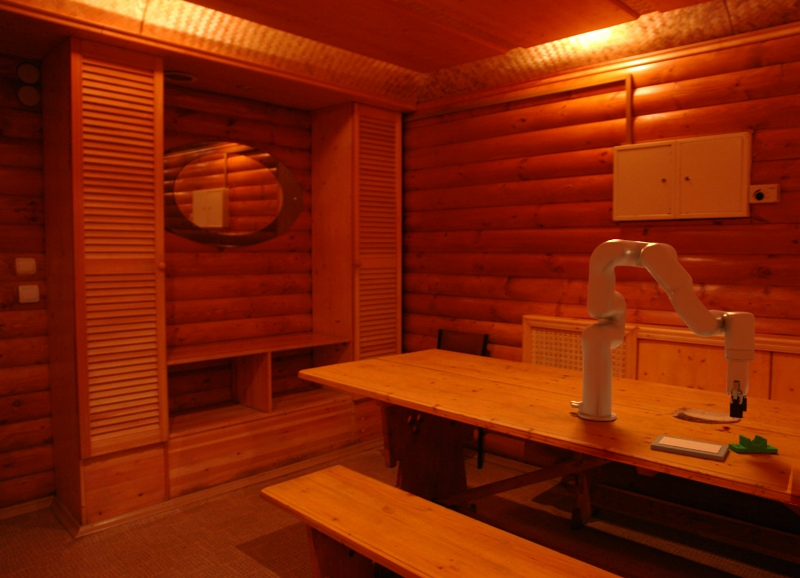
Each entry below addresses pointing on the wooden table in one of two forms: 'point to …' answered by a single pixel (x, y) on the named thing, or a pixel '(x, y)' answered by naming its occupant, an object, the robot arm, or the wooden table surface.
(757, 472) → the wooden table surface
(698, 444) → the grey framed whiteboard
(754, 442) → the pipe clamp
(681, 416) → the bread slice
